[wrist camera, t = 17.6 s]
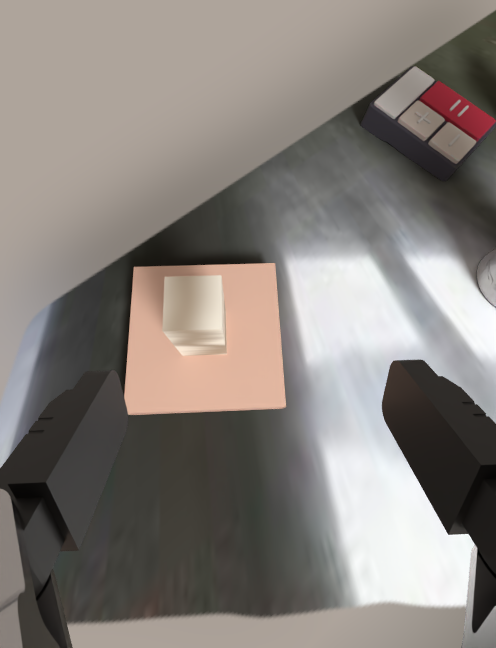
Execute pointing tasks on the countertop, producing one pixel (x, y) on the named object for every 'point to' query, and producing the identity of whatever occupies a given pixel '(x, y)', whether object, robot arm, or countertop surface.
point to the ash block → (195, 314)
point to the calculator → (427, 122)
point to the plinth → (206, 370)
